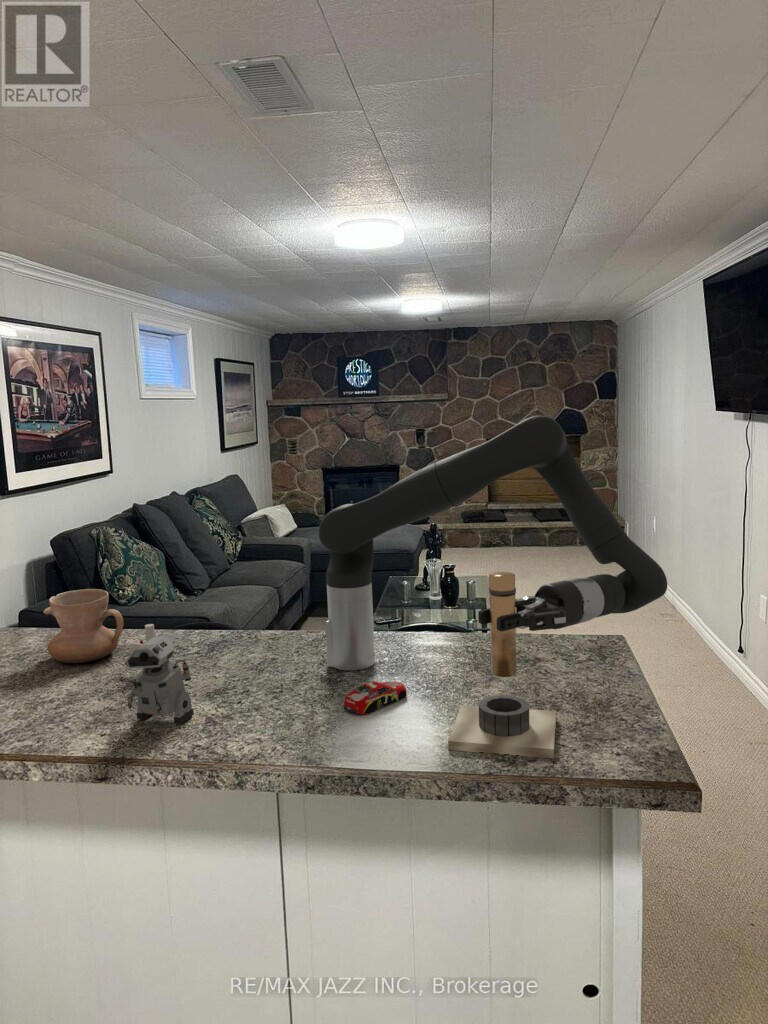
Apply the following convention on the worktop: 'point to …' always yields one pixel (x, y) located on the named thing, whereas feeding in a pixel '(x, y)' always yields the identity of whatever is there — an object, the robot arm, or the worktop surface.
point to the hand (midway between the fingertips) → (489, 621)
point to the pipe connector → (149, 634)
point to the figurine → (159, 681)
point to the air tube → (501, 642)
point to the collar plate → (504, 728)
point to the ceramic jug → (82, 626)
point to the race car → (374, 696)
